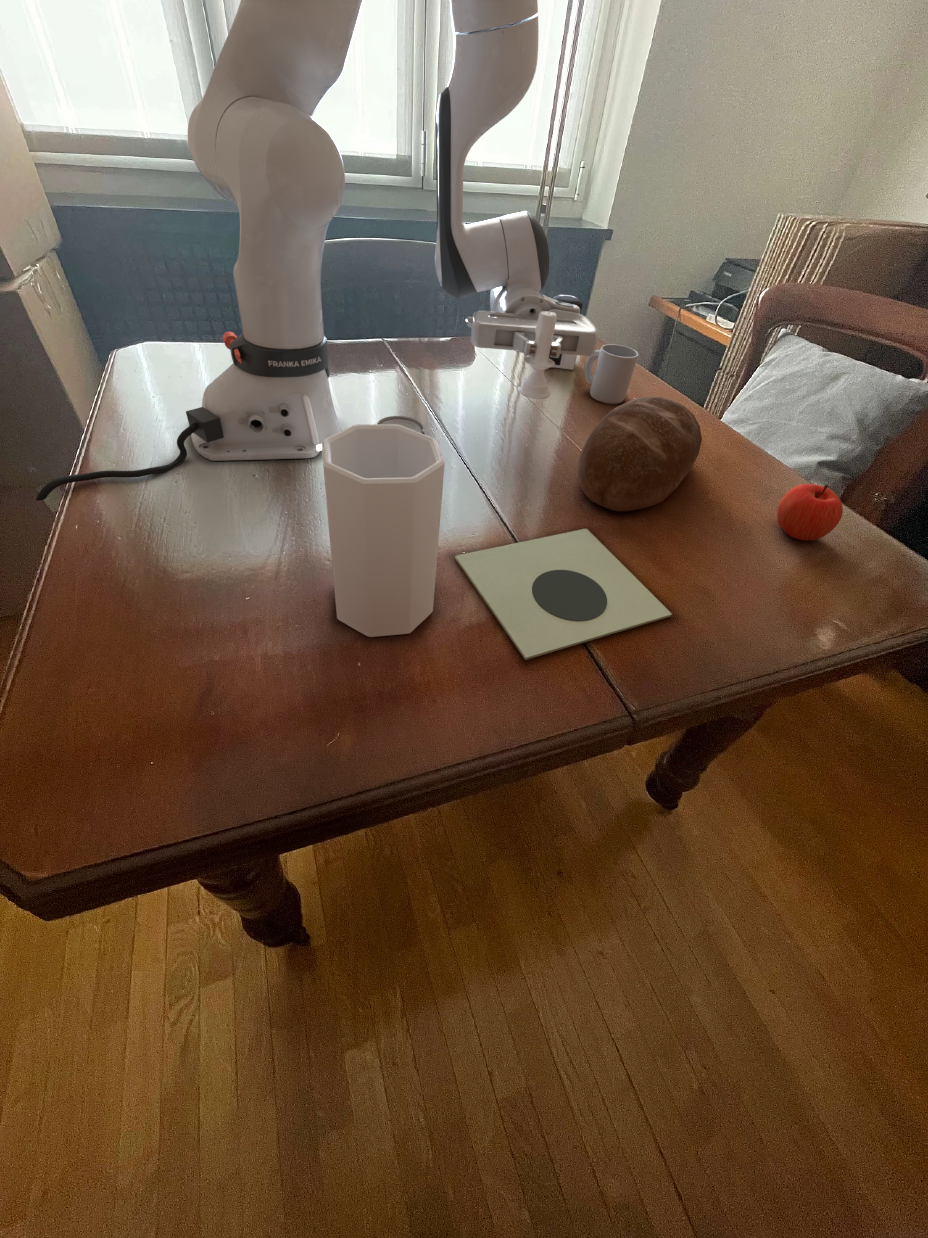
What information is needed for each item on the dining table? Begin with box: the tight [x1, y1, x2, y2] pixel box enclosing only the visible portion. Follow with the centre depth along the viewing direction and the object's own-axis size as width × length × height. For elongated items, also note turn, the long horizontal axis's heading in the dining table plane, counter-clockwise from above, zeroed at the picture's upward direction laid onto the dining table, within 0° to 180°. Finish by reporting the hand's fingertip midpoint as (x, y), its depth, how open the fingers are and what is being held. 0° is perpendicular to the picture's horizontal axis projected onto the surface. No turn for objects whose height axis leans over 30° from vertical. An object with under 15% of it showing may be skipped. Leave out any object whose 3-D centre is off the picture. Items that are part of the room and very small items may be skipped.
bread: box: [576, 396, 703, 513], centre depth 84 cm, size 16×29×11 cm, turn 147°
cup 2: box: [583, 343, 639, 405], centre depth 108 cm, size 7×10×9 cm
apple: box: [776, 483, 844, 542], centre depth 78 cm, size 8×8×8 cm
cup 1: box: [321, 423, 446, 638], centre depth 54 cm, size 11×11×18 cm
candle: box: [516, 310, 557, 400], centre depth 83 cm, size 5×5×12 cm
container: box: [549, 294, 584, 370], centre depth 118 cm, size 8×8×13 cm
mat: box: [454, 528, 673, 661], centre depth 66 cm, size 20×18×1 cm
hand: (543, 351), depth 82 cm, fingers closed on candle, 2 cm apart
